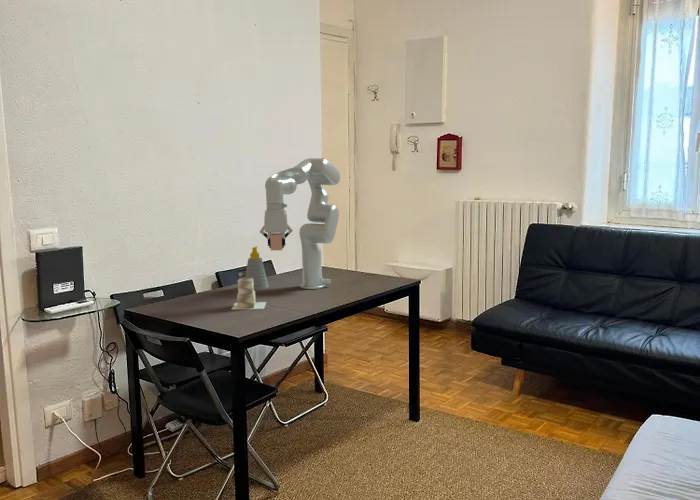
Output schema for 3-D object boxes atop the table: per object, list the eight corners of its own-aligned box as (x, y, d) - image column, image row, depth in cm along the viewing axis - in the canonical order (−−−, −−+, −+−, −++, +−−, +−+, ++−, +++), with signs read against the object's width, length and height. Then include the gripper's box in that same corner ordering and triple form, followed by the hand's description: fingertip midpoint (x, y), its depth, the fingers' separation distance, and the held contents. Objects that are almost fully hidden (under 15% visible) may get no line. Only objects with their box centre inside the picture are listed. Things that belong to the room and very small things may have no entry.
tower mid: (253, 291, 282) (253, 277, 281) (252, 294, 276) (251, 280, 275) (240, 291, 282) (239, 278, 281) (238, 294, 276) (237, 280, 275)
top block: (282, 248, 289) (282, 233, 288) (282, 250, 284) (281, 234, 283) (271, 248, 289) (271, 233, 288) (270, 250, 284) (270, 234, 283)
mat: (266, 302, 287) (266, 302, 287) (264, 309, 275) (264, 308, 275) (235, 303, 287) (235, 302, 287) (231, 310, 275) (231, 309, 275)
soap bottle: (271, 285, 324) (269, 245, 321) (265, 290, 312) (264, 249, 309) (247, 285, 325) (245, 245, 322) (240, 290, 313) (238, 249, 310)
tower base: (255, 304, 284) (255, 290, 283) (253, 308, 277) (253, 294, 276) (239, 304, 283) (239, 291, 282) (237, 308, 276) (237, 294, 275)
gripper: (294, 205, 288) (296, 245, 291) (256, 206, 287) (258, 246, 290) (294, 207, 280) (295, 248, 283) (254, 208, 280) (256, 249, 283)
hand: (276, 247), depth 287 cm, fingers closed on top block, 5 cm apart
